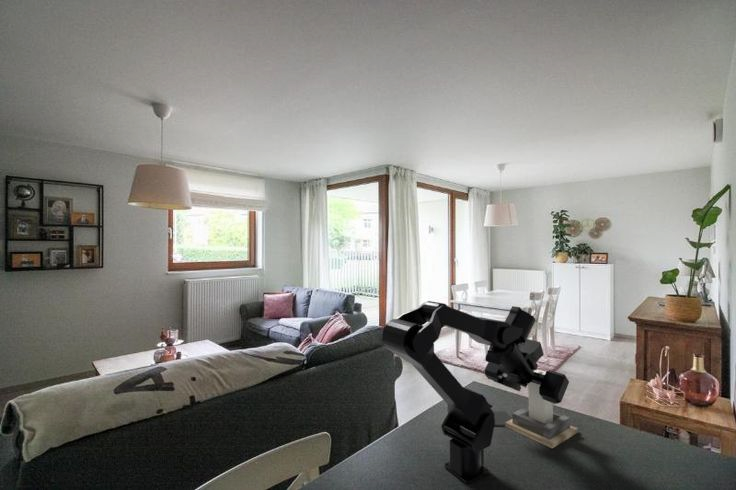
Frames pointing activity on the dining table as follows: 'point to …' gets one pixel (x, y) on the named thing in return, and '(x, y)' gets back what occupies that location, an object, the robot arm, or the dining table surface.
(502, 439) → the dining table surface
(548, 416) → the block
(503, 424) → the smartphone
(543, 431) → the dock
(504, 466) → the dining table surface
